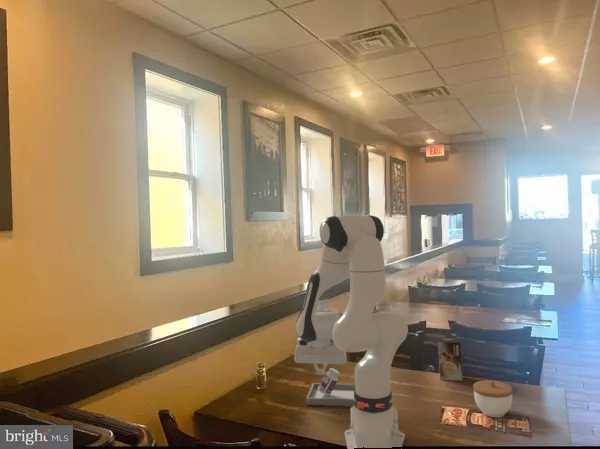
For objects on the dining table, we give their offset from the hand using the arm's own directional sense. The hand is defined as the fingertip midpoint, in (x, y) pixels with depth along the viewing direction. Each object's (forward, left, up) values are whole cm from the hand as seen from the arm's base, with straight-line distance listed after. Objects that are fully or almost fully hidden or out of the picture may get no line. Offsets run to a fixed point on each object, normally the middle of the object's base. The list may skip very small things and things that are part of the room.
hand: (320, 374), depth 181 cm
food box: (+24, -51, -9) cm, 58 cm away
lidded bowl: (-9, -61, -9) cm, 63 cm away
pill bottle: (-1, -1, -7) cm, 7 cm away
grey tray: (-1, -6, -9) cm, 11 cm away
